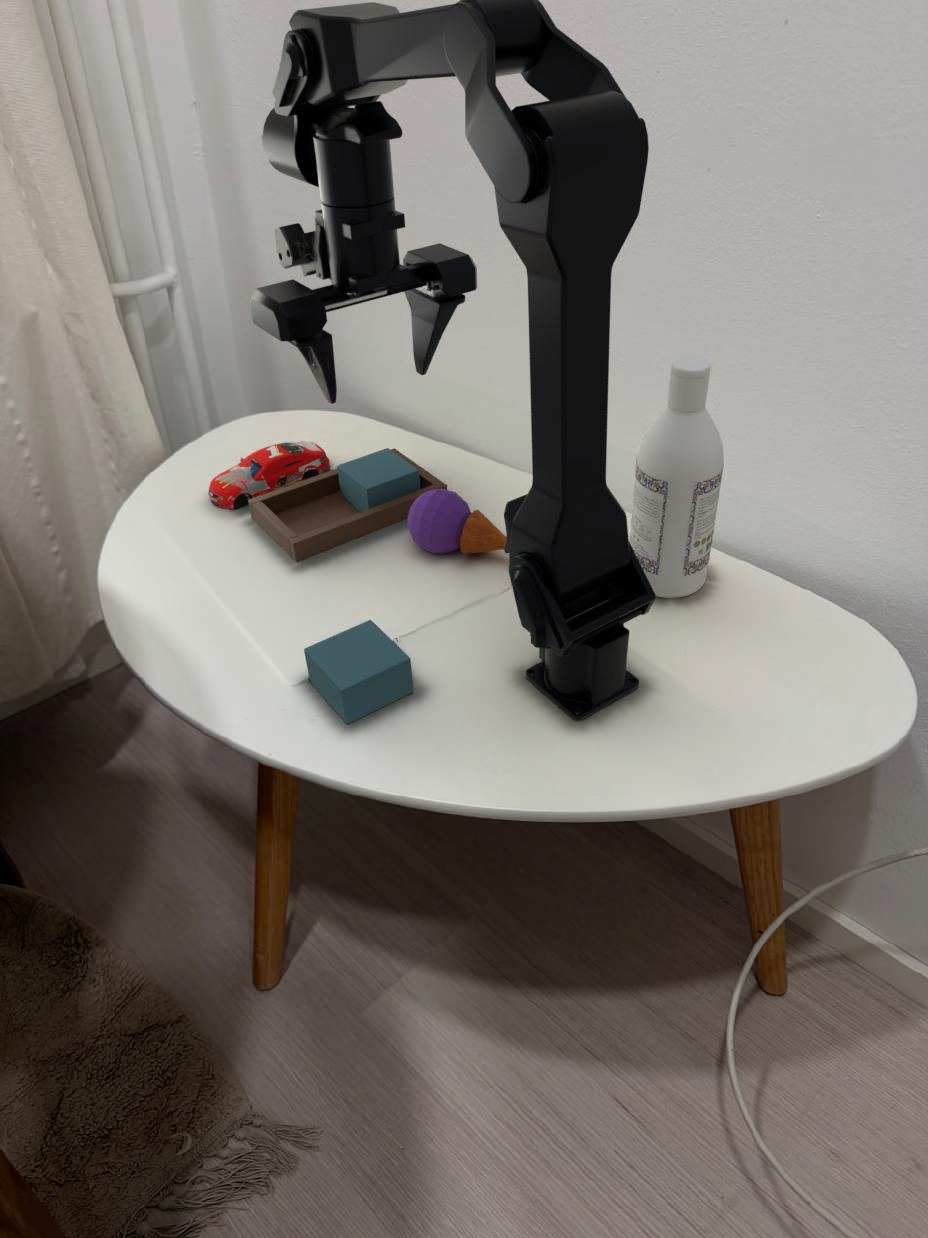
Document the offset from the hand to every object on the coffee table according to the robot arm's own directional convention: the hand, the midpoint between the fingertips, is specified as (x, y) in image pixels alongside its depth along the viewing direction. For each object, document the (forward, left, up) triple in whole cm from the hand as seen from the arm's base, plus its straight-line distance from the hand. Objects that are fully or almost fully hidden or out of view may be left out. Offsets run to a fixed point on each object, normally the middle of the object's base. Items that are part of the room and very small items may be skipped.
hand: (377, 387), depth 81 cm
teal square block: (+5, -2, -14) cm, 15 cm away
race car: (+15, +6, -15) cm, 22 cm away
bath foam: (-22, -15, -15) cm, 31 cm away
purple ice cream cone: (-12, -5, -15) cm, 20 cm away
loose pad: (-18, +14, -15) cm, 27 cm away
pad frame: (+5, +2, -15) cm, 16 cm away
